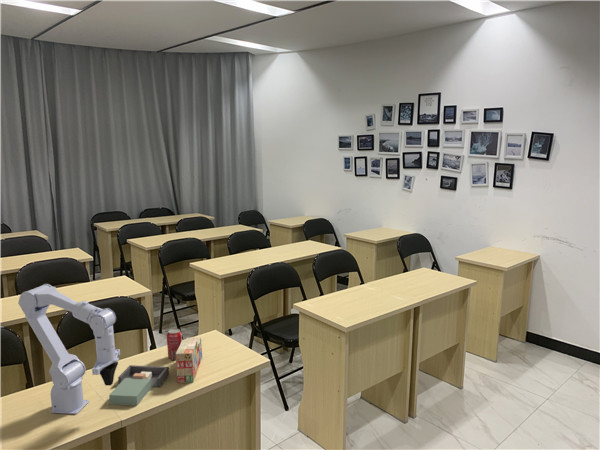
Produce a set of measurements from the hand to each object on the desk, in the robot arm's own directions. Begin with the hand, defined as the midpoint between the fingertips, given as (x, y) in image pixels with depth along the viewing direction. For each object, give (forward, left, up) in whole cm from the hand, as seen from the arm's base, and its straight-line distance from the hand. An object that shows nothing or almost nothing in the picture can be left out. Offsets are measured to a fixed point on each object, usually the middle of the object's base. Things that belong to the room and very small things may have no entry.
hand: (108, 384), depth 153 cm
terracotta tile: (+2, +17, -8) cm, 19 cm away
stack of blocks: (+17, +32, -11) cm, 38 cm away
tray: (+2, +22, -10) cm, 25 cm away
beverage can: (+7, +42, -11) cm, 44 cm away
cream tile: (+2, +22, -8) cm, 24 cm away
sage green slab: (+2, +11, -10) cm, 15 cm away
